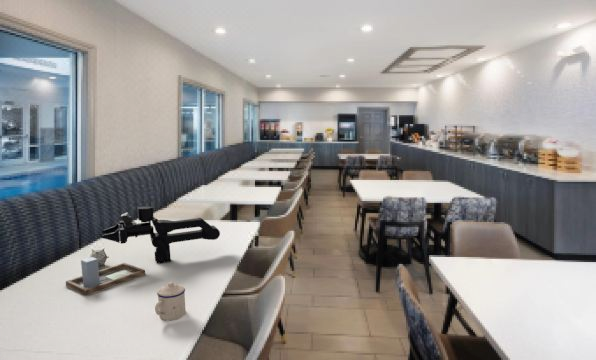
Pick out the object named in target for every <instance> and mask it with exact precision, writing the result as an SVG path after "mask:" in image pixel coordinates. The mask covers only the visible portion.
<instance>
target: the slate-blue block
mask: <svg viewBox="0 0 596 360" xmlns="http://www.w3.org/2000/svg"><path fill="white" fill-rule="evenodd" d="M89 257H90V256H89ZM89 257H87V258H84V259H80V265H81V273H82V274H81V276H83V282H82V284H83V286H82V287H84V288H87V289H88V288H91V287H94V286H97V285H100V279H99V269H100V268H99V266H98V259H96V258H94V257H90V258H89Z"/></svg>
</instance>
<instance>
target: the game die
mask: <svg viewBox="0 0 596 360" xmlns="http://www.w3.org/2000/svg"><path fill="white" fill-rule="evenodd" d="M91 251H92V252H91V254H90V255H89V257H88V258H90V257H94V258H96V259H98V267H99V266H103V267H106V265H105V264H106V262H107V259H108V258H110V257H109V256H107V254H106V252H105V248H103V249H97V250H94V249H91Z"/></svg>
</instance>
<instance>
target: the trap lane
mask: <svg viewBox="0 0 596 360" xmlns="http://www.w3.org/2000/svg"><path fill="white" fill-rule="evenodd" d="M122 269H125V270H127V271H129V272H131V273H129V274H125V275H126V276H123V277H120V278H117V279H115V280H111V279H108V278H106V277H105V276H103V275H108V274H110V273H113V272H116V271H118V270H122ZM145 275H146V270H145V269H144V268H140V267H137V266H136V265H135V266H134V265H132V264H129V263H126V262H122V263H119V264H116V265H112V266H109V267H107V268H103V269H100V270H99V279H100V285H97V286H94V287H91V288H87V287H85V286H82V285H81V284H79V283H83V276H82V275H81V276H78V277H74V278H72V279H68V280H66V281H65V287H68V288H69V289H72V290H74V291H76V292H78V293H80V294H82V295H84V296H90V295H92V294H95V293H97V292H100V291H103V290H106V289H108V288H109V289H110V288H112V287H114V286H118V285H120V284H123V283H125V282H128V281H131V280H134V279H136V278H139V277H142V276H145Z"/></svg>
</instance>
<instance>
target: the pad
mask: <svg viewBox="0 0 596 360" xmlns="http://www.w3.org/2000/svg"><path fill="white" fill-rule="evenodd" d="M126 275H127V274H125V273H121V272H119V271H117V272H114V273H111V274H109V275H108V274H107V275H105V276H104V277H106V278H108V279H111V280H115V279H117V278H120V277H123V276H126Z"/></svg>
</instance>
